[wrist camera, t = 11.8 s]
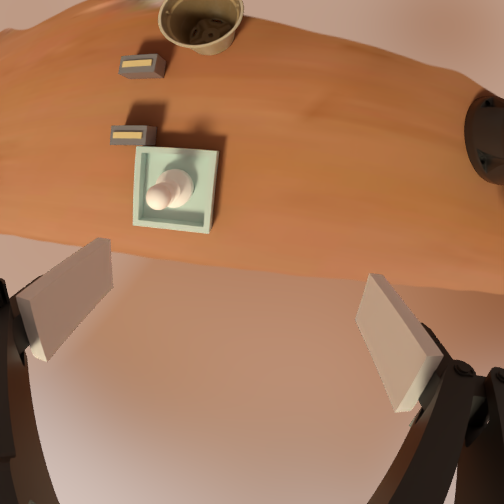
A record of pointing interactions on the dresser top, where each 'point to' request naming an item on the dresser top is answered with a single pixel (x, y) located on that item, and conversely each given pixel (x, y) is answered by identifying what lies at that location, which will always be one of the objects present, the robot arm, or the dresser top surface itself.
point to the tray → (201, 202)
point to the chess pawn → (170, 190)
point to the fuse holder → (138, 69)
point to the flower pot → (201, 23)
